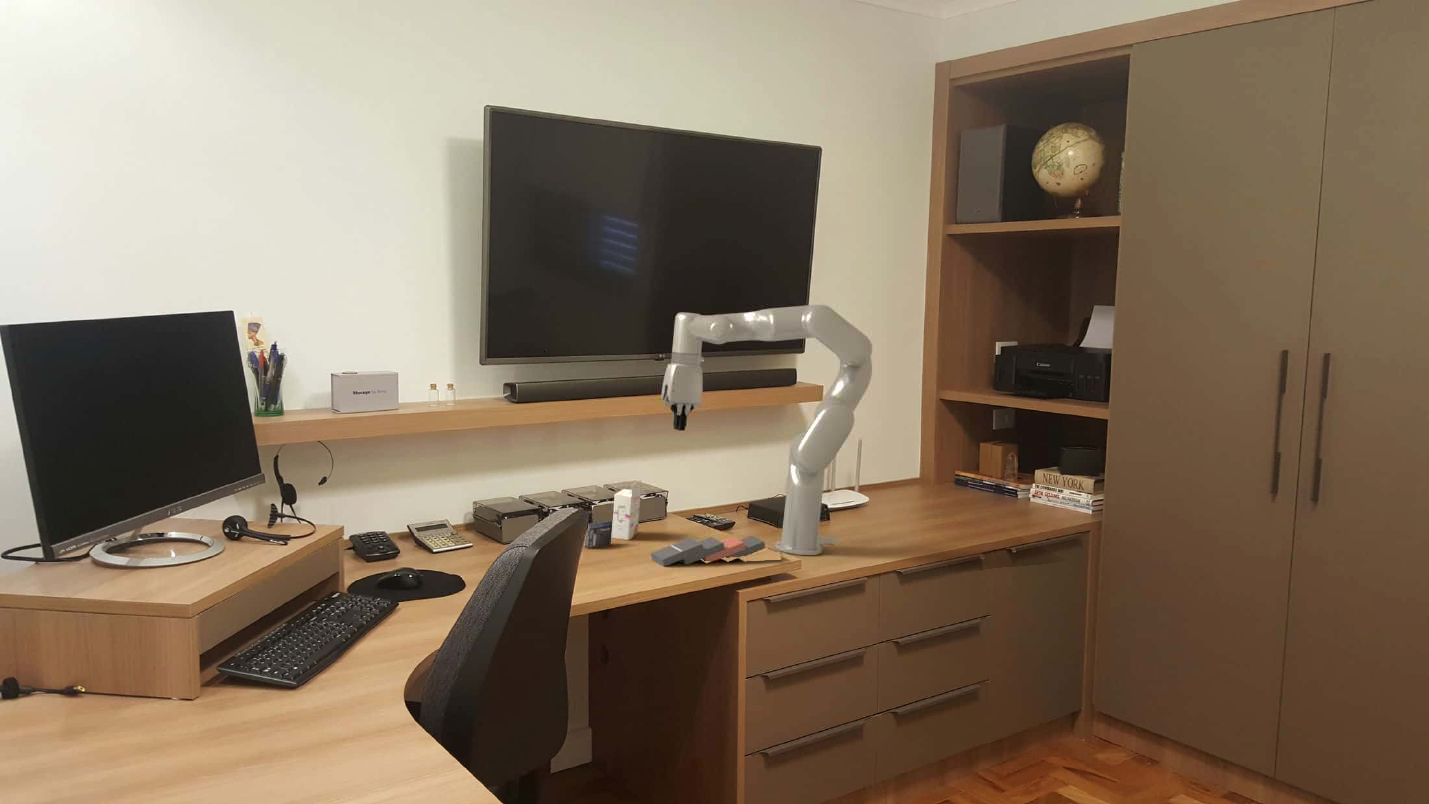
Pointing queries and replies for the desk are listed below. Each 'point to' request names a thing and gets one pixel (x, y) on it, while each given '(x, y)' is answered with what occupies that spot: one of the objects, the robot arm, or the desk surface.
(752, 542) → the domino
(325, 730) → the desk surface
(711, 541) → the domino
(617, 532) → the ink cartridge box
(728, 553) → the domino
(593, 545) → the mini dv tape
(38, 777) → the desk surface
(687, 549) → the domino
